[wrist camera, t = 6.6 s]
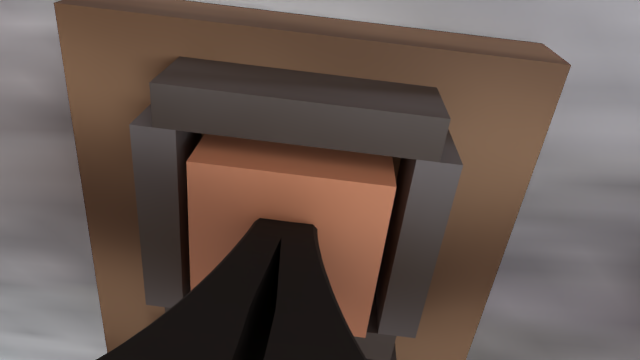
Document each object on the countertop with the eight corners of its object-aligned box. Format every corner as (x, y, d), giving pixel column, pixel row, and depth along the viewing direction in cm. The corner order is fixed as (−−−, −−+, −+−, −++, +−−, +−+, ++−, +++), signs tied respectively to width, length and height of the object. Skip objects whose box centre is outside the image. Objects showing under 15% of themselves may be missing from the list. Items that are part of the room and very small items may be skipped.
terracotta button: (215, 118, 12) (186, 161, 10) (390, 139, 12) (396, 187, 10) (215, 256, 15) (191, 316, 12) (364, 275, 15) (365, 337, 12)
